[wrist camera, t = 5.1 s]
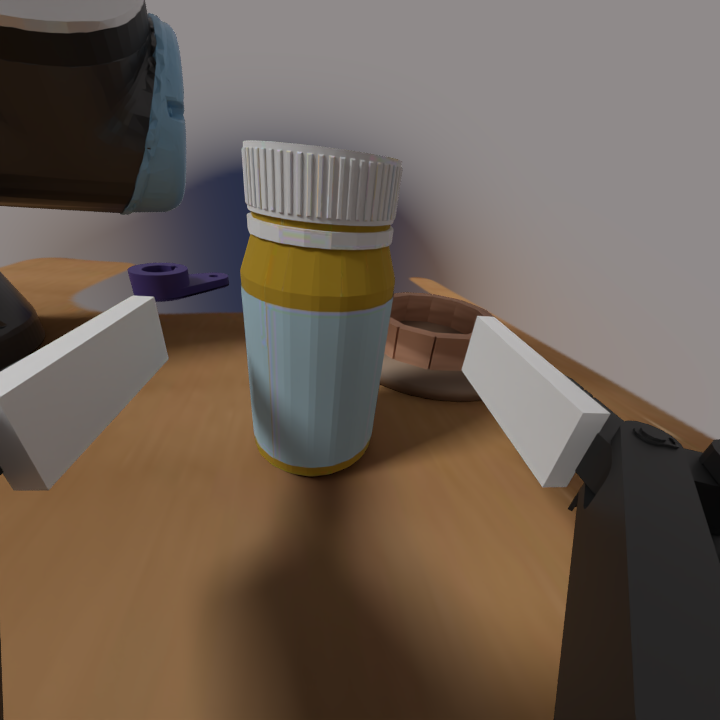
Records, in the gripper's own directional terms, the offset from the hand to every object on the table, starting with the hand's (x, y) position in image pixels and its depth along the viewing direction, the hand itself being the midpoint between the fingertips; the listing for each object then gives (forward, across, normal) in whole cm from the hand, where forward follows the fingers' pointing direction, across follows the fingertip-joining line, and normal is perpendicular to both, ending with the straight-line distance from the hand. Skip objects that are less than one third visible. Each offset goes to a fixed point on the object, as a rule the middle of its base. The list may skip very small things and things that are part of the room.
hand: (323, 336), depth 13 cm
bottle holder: (+16, +10, -8) cm, 21 cm away
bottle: (+3, 0, -8) cm, 9 cm away
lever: (+31, -19, -9) cm, 37 cm away
